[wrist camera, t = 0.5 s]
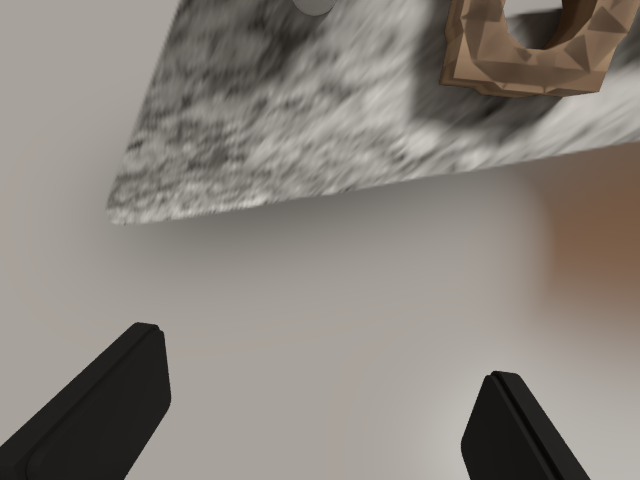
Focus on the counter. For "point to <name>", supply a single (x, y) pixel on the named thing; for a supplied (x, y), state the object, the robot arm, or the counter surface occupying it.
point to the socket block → (531, 64)
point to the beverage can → (314, 6)
